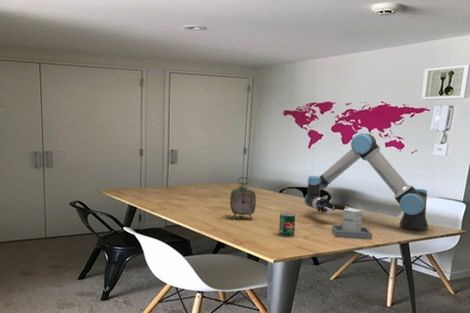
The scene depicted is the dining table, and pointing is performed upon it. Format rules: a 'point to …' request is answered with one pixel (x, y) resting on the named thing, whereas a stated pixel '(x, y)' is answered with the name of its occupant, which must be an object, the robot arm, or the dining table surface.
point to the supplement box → (352, 220)
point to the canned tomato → (287, 224)
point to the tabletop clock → (242, 201)
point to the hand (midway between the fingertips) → (341, 211)
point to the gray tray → (351, 233)
